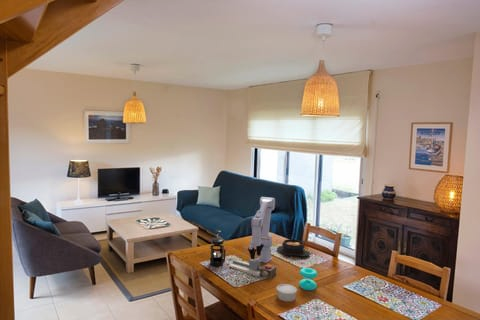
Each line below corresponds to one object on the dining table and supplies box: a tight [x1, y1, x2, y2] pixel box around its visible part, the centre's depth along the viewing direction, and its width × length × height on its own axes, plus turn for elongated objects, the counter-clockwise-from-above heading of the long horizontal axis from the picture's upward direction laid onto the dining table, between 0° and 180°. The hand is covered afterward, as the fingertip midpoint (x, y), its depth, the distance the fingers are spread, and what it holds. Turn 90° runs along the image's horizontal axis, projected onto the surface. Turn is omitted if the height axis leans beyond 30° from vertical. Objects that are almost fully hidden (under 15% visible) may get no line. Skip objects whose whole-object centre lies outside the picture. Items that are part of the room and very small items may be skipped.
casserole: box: [276, 238, 311, 257], centre depth 245 cm, size 25×19×8 cm
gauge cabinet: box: [259, 263, 277, 280], centre depth 205 cm, size 8×7×5 cm
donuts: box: [298, 267, 318, 291], centre depth 191 cm, size 10×10×10 cm
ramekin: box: [275, 283, 298, 303], centre depth 178 cm, size 11×11×5 cm
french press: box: [209, 229, 227, 268], centre depth 218 cm, size 12×9×23 cm
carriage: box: [248, 258, 262, 270], centre depth 210 cm, size 4×6×5 cm, turn 57°
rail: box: [228, 259, 262, 277], centre depth 213 cm, size 10×22×3 cm, turn 58°
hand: (255, 257), depth 209 cm, fingers open, 7 cm apart
